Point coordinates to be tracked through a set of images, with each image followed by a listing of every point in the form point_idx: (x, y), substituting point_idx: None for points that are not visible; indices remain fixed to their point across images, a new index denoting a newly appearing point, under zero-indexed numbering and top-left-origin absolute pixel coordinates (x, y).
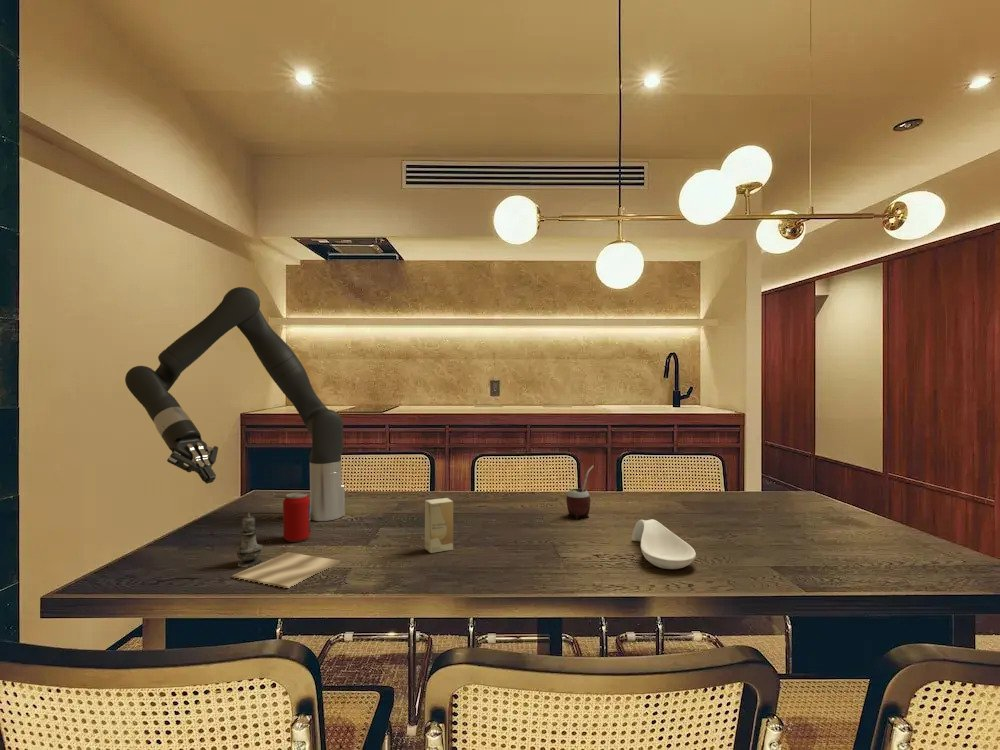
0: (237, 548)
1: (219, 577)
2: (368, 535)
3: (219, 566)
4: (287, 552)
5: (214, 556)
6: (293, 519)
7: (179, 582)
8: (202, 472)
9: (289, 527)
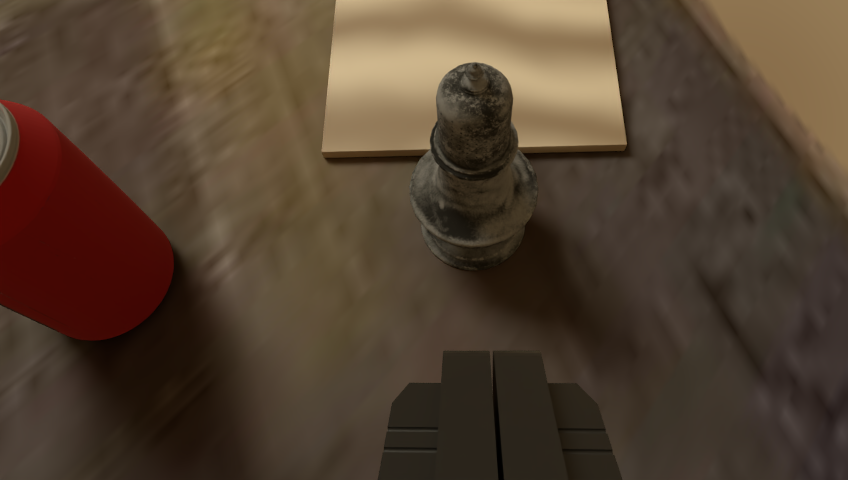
0: (506, 227)
1: (645, 201)
2: (20, 44)
3: (559, 315)
4: (326, 151)
5: None
6: (115, 190)
7: (777, 307)
8: (617, 474)
9: (142, 233)
